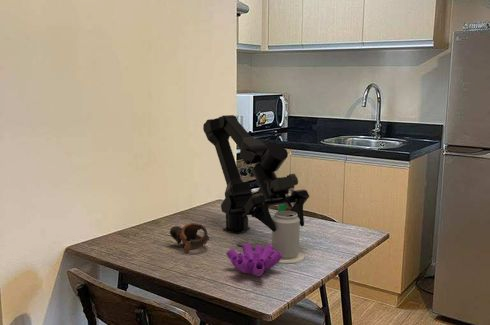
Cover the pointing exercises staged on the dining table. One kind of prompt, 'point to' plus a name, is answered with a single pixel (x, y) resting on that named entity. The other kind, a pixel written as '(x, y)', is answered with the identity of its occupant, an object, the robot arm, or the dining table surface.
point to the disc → (293, 259)
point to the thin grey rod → (243, 244)
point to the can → (286, 234)
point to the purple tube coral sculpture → (254, 259)
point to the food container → (285, 206)
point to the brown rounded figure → (189, 236)
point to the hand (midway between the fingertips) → (289, 228)
